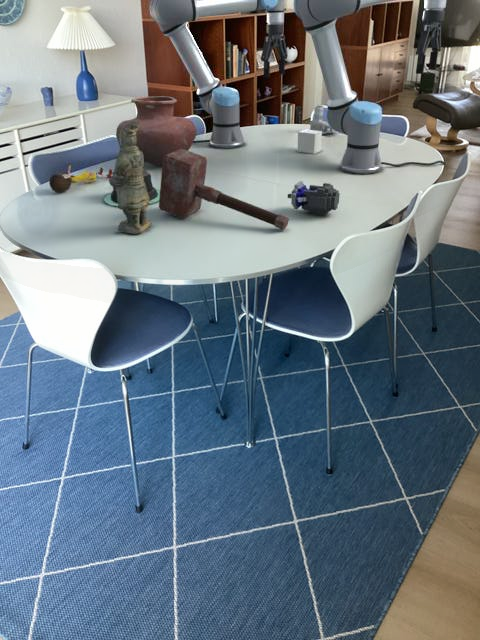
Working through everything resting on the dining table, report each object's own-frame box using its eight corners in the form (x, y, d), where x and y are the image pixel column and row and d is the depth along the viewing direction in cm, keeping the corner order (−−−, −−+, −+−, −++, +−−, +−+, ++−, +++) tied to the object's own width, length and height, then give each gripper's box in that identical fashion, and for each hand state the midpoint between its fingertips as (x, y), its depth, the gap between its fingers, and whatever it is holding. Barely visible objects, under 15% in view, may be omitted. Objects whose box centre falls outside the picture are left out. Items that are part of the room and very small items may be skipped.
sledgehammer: (299, 190, 156) (179, 147, 167) (285, 200, 148) (161, 154, 160) (286, 244, 166) (174, 200, 177) (272, 256, 158) (156, 209, 170)
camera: (318, 104, 267) (345, 108, 259) (317, 129, 274) (342, 134, 265) (308, 106, 262) (334, 110, 253) (306, 132, 268) (332, 137, 259)
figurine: (118, 166, 204) (64, 174, 185) (119, 186, 207) (65, 196, 188) (93, 161, 211) (38, 168, 191) (95, 181, 214) (40, 190, 195)
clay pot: (204, 155, 234) (201, 91, 222) (186, 175, 209) (181, 105, 196) (136, 153, 239) (129, 91, 227) (109, 172, 214) (100, 104, 201)
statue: (131, 220, 168) (117, 116, 152) (158, 224, 164) (147, 118, 149) (109, 233, 159) (93, 124, 144) (138, 237, 156) (124, 126, 140)
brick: (304, 148, 242) (305, 129, 237) (321, 150, 237) (322, 131, 233) (297, 151, 237) (297, 131, 233) (314, 153, 233) (315, 133, 229)
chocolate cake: (91, 202, 180) (113, 186, 197) (142, 231, 182) (160, 212, 199) (107, 162, 172) (129, 148, 190) (160, 192, 174) (177, 176, 192)
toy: (295, 178, 172) (342, 184, 166) (295, 205, 177) (340, 211, 171) (285, 186, 166) (333, 192, 160) (284, 213, 170) (331, 220, 164)
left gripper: (281, 22, 257) (280, 72, 267) (253, 24, 239) (252, 78, 249) (296, 22, 253) (294, 73, 264) (267, 25, 235) (267, 79, 246)
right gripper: (435, 8, 216) (427, 67, 227) (412, 10, 199) (404, 74, 209) (455, 8, 212) (446, 68, 223) (432, 10, 195) (423, 75, 206)
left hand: (274, 75), depth 257 cm, fingers open, 13 cm apart
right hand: (425, 71), depth 216 cm, fingers open, 13 cm apart
